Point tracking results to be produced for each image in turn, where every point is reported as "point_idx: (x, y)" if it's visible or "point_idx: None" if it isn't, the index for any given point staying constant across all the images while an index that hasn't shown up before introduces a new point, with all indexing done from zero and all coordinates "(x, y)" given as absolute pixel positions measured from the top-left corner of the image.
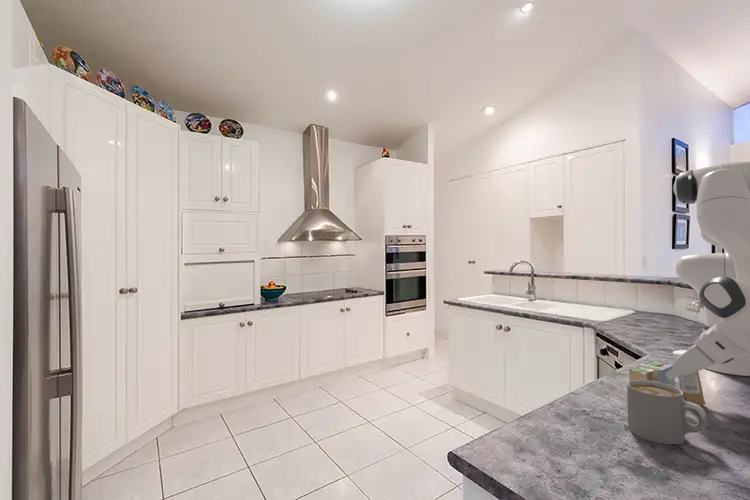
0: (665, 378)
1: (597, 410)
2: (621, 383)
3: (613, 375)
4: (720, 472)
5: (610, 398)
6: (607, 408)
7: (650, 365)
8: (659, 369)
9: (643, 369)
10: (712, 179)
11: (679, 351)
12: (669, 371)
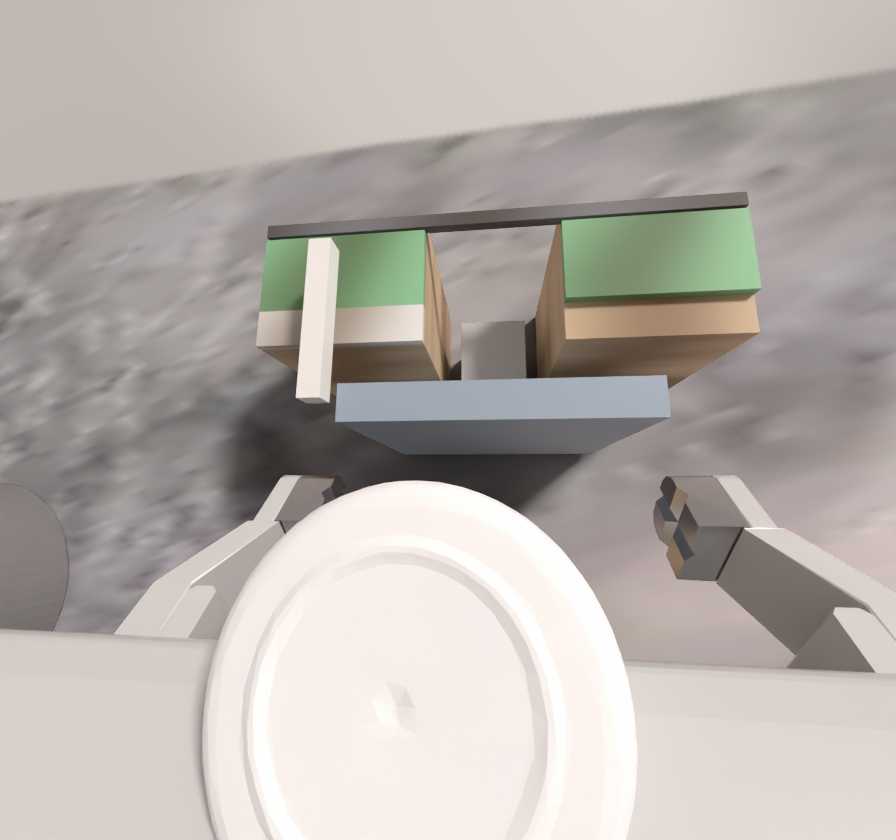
0: (435, 436)
1: (51, 335)
2: (520, 207)
3: (630, 114)
4: None
5: (237, 292)
6: (103, 346)
7: (563, 255)
8: (344, 398)
9: (364, 283)
10: None
11: (414, 603)
12: (263, 510)
